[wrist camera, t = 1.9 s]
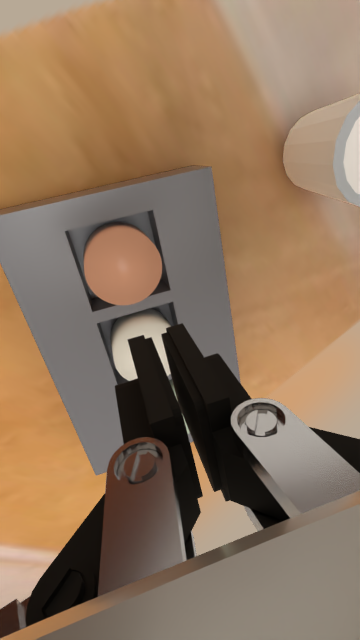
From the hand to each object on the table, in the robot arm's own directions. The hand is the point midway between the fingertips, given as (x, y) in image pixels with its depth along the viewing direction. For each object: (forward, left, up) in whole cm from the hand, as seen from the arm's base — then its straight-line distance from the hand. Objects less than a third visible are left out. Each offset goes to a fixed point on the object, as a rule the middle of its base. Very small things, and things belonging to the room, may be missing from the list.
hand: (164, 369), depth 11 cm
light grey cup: (-17, -3, -17) cm, 25 cm away
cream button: (0, +7, -16) cm, 17 cm away
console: (0, +7, -17) cm, 18 cm away
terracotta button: (0, 0, -16) cm, 16 cm away
